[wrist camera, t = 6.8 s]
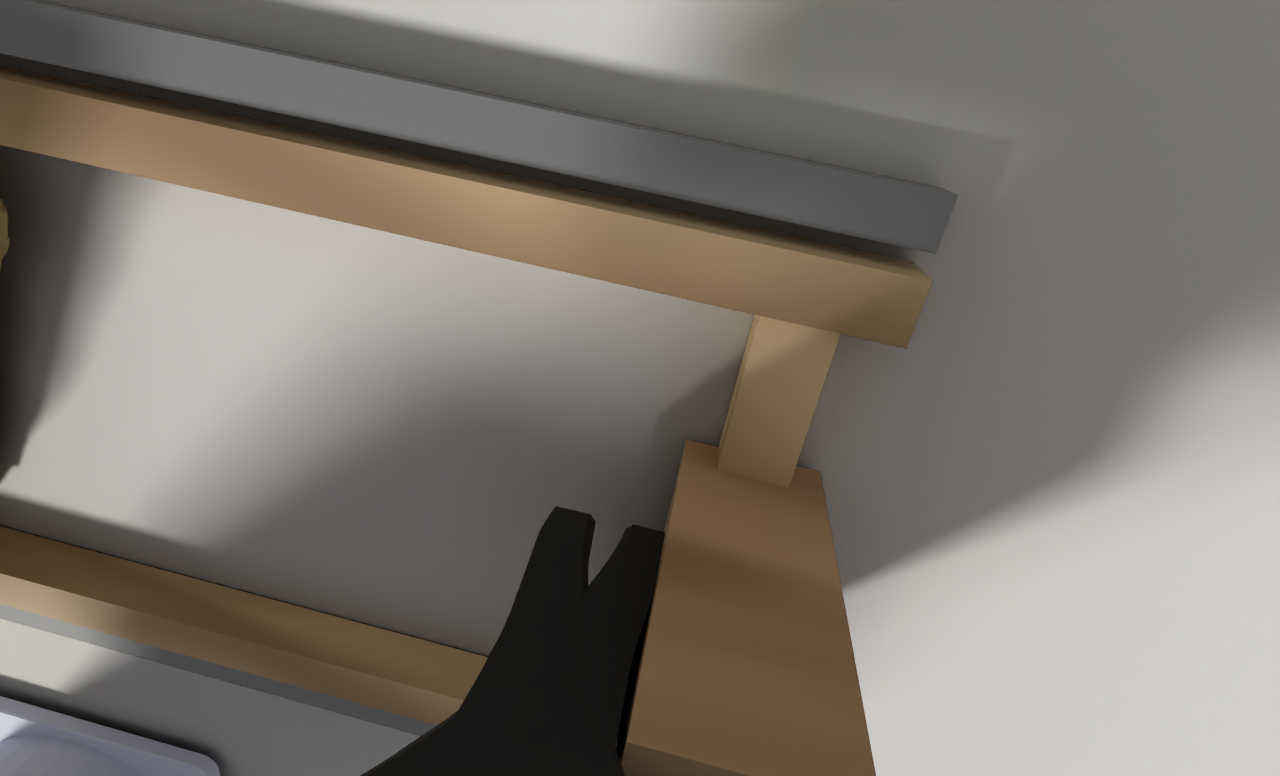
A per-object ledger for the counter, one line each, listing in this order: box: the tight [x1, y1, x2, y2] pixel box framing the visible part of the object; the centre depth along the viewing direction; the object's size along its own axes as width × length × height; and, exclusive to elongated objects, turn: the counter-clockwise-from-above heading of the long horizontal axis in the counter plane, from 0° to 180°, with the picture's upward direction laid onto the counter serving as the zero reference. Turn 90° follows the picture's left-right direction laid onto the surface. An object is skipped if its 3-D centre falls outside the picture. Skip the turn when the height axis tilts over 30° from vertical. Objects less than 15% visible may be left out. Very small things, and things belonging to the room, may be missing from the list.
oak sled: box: [0, 65, 933, 776], centre depth 10 cm, size 12×25×6 cm, turn 80°
